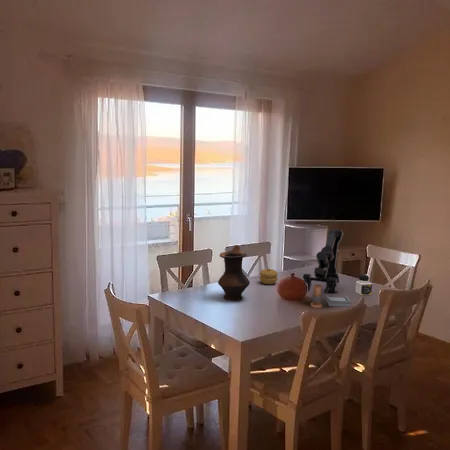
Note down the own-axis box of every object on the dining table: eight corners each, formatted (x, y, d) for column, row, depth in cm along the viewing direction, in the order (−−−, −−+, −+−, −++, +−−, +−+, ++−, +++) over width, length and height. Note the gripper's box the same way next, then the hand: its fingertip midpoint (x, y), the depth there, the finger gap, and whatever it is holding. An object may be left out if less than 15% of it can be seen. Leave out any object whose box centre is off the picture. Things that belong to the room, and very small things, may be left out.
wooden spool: (309, 304, 285) (310, 284, 283) (319, 304, 286) (321, 283, 284) (313, 308, 278) (314, 287, 276) (324, 307, 280) (325, 286, 278)
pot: (257, 284, 323) (257, 269, 321) (261, 280, 334) (262, 265, 333) (275, 286, 320) (276, 271, 318) (278, 282, 331) (279, 267, 329)
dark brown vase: (246, 304, 281) (248, 252, 277) (214, 301, 285) (215, 250, 280) (252, 294, 302) (253, 245, 297) (222, 291, 305) (223, 243, 301)
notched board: (325, 299, 295) (325, 294, 294) (346, 300, 294) (346, 295, 294) (329, 306, 283) (329, 300, 282) (350, 306, 283) (350, 301, 282)
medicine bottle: (361, 295, 305) (362, 276, 303) (355, 292, 312) (356, 273, 310) (371, 294, 307) (372, 275, 305) (365, 291, 314) (366, 273, 312)
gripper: (304, 259, 286) (298, 283, 277) (337, 263, 278) (331, 287, 270) (307, 270, 294) (301, 293, 286) (339, 274, 286) (333, 298, 278)
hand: (316, 292), depth 280 cm, fingers open, 9 cm apart
